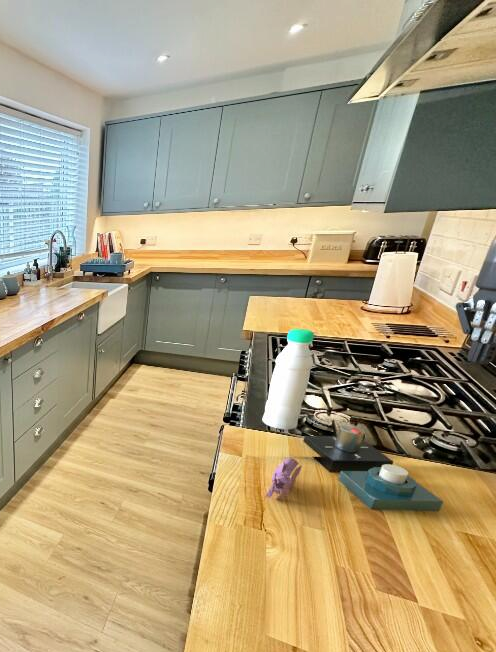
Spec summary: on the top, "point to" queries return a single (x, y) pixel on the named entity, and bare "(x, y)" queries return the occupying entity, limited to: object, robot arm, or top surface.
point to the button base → (389, 492)
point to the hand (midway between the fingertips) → (477, 362)
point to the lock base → (345, 455)
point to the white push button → (393, 474)
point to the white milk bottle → (289, 381)
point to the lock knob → (349, 438)
